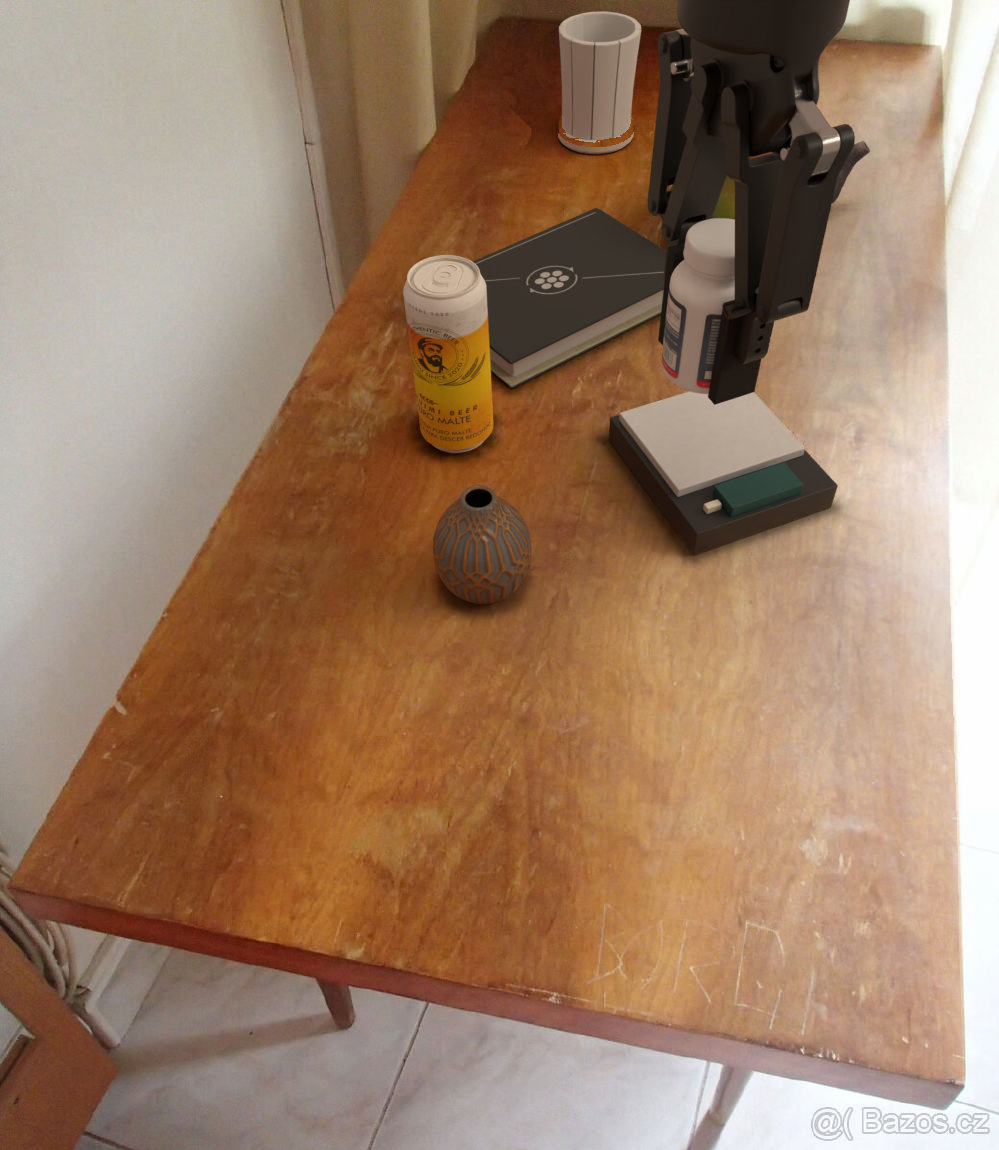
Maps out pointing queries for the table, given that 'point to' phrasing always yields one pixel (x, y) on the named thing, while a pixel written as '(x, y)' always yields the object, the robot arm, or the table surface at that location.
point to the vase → (482, 547)
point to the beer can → (450, 351)
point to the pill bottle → (698, 303)
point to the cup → (597, 77)
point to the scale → (719, 467)
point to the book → (568, 293)
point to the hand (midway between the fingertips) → (704, 364)
